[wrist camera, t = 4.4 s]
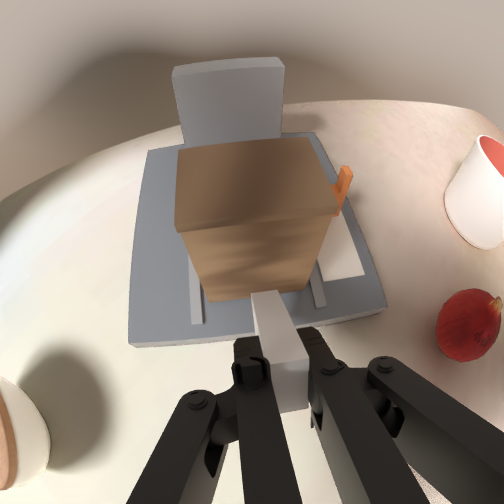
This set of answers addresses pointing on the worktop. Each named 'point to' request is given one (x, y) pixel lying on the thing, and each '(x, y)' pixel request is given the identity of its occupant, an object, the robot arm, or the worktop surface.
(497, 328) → the onion
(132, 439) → the worktop surface
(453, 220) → the cup
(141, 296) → the base
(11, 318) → the worktop surface
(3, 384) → the lidded jar
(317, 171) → the brown rectangular block
